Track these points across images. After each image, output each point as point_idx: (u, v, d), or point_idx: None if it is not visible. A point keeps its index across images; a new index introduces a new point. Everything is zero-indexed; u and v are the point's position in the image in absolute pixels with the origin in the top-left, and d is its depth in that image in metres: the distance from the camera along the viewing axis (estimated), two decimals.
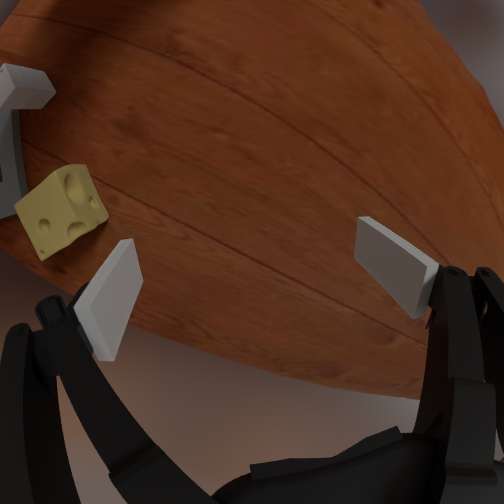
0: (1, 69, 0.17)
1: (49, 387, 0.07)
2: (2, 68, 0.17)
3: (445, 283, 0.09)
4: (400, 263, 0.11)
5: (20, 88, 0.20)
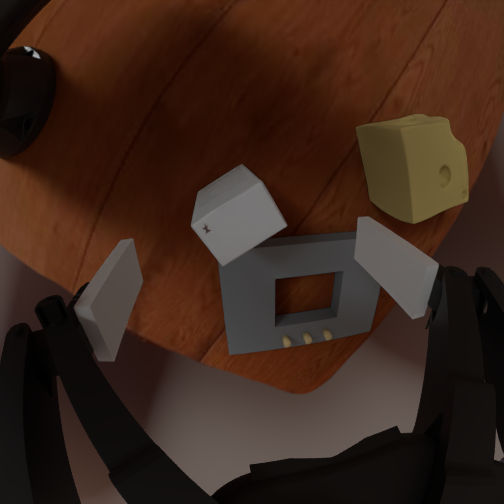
0: (203, 230, 0.20)
1: (49, 387, 0.07)
2: (200, 228, 0.19)
3: (445, 283, 0.09)
4: (400, 263, 0.11)
5: (258, 178, 0.20)
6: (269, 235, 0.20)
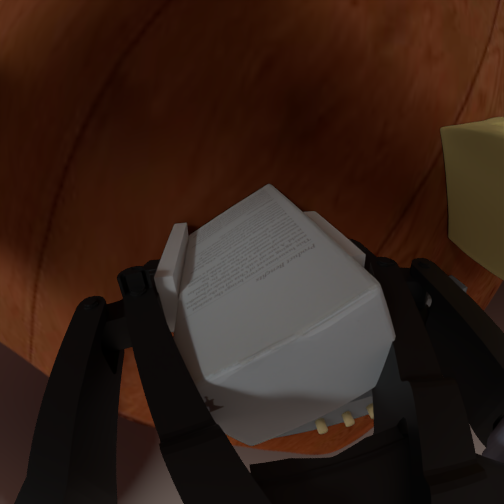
0: None
1: (114, 363, 0.09)
2: None
3: (375, 277, 0.10)
4: None
5: (355, 261, 0.07)
6: (363, 393, 0.07)
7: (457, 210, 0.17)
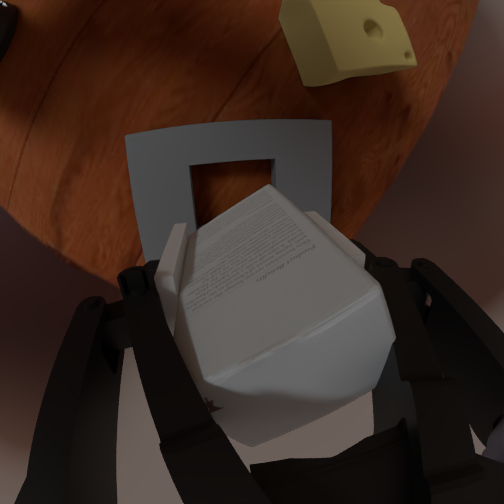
0: None
1: (114, 363, 0.09)
2: None
3: (375, 277, 0.10)
4: None
5: (356, 262, 0.07)
6: (363, 394, 0.07)
7: (298, 60, 0.24)
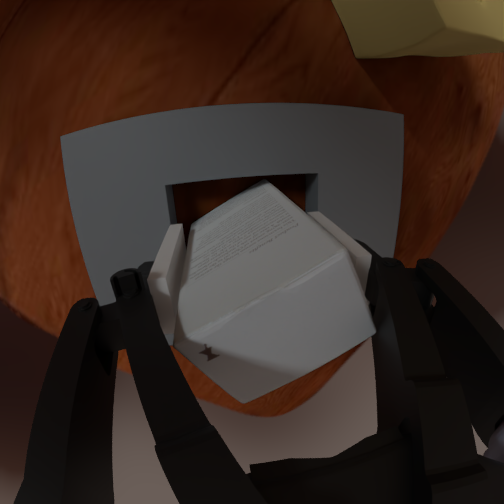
0: (201, 355, 0.08)
1: (108, 365, 0.08)
2: (195, 352, 0.08)
3: (381, 277, 0.09)
4: None
5: (329, 234, 0.08)
6: (341, 353, 0.09)
7: (349, 17, 0.12)
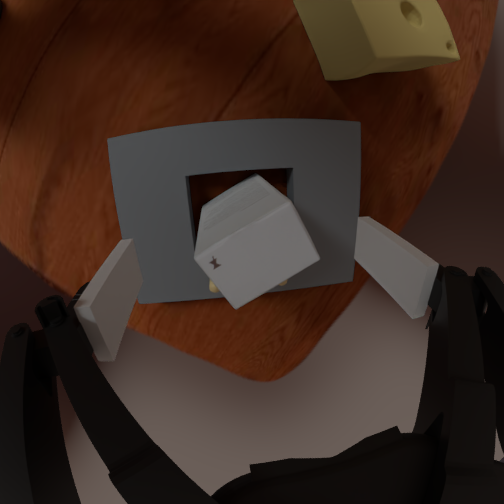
0: (210, 264, 0.15)
1: (49, 387, 0.07)
2: (207, 262, 0.15)
3: (445, 283, 0.09)
4: (400, 263, 0.11)
5: (284, 195, 0.15)
6: (297, 271, 0.15)
7: (319, 49, 0.19)
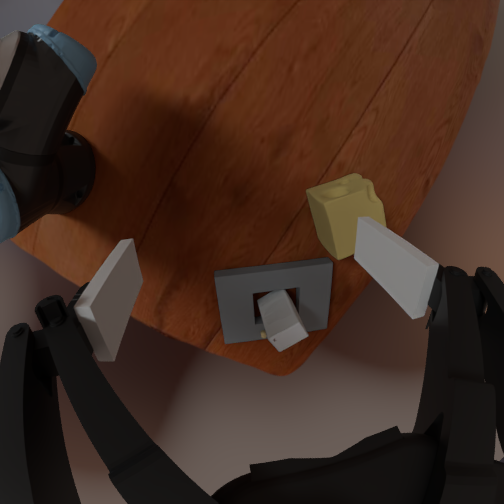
0: (273, 340, 0.44)
1: (49, 387, 0.07)
2: (272, 340, 0.44)
3: (445, 283, 0.09)
4: (400, 263, 0.11)
5: (297, 317, 0.44)
6: (300, 340, 0.45)
7: (316, 226, 0.48)
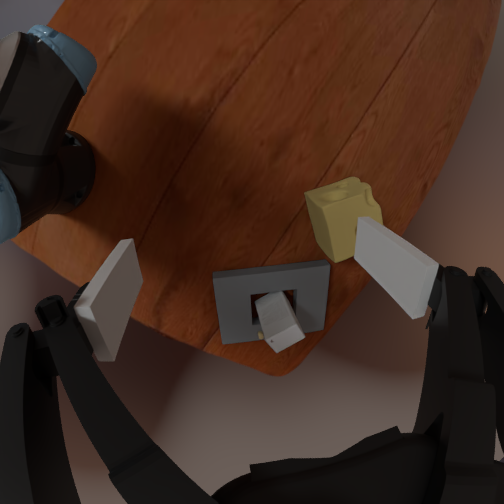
0: (270, 341, 0.44)
1: (49, 387, 0.07)
2: (269, 341, 0.44)
3: (445, 283, 0.09)
4: (400, 263, 0.11)
5: (294, 319, 0.45)
6: (297, 341, 0.45)
7: (314, 228, 0.49)
